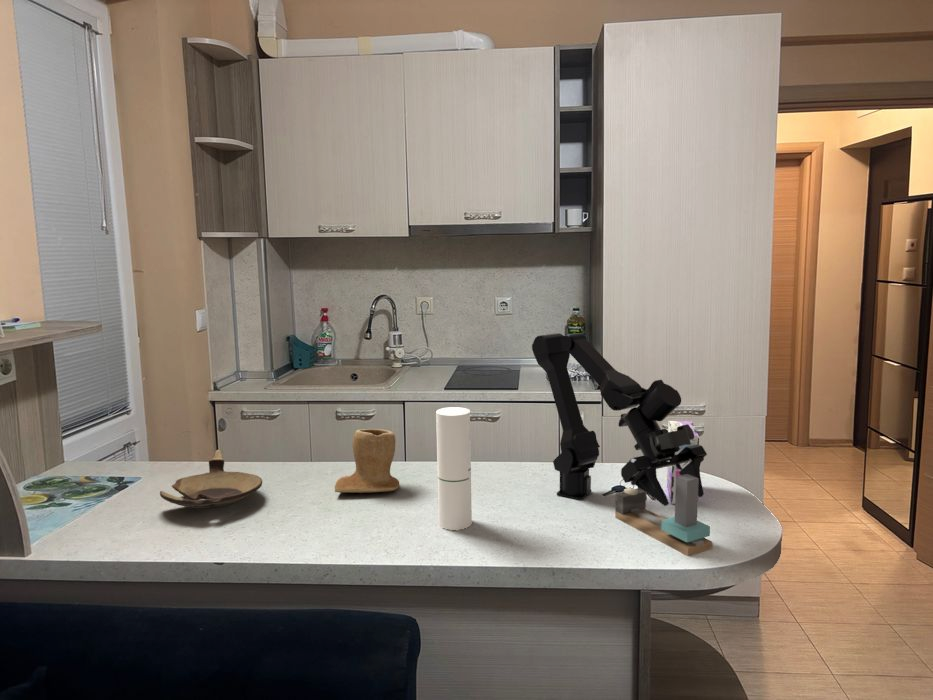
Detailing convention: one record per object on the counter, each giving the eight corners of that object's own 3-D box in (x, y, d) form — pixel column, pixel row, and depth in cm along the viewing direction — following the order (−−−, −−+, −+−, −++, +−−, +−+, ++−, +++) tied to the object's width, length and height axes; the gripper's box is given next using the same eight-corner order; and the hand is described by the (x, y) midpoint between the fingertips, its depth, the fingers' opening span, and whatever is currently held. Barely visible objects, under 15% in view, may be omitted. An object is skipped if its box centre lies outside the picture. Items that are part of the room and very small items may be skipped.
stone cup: (400, 479, 182) (399, 422, 179) (398, 497, 170) (396, 436, 167) (341, 481, 181) (338, 424, 179) (334, 498, 169) (331, 438, 167)
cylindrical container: (476, 519, 156) (474, 408, 152) (465, 532, 149) (463, 416, 145) (445, 515, 158) (443, 406, 154) (433, 528, 152) (430, 414, 148)
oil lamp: (140, 523, 157) (137, 490, 156) (204, 476, 187) (202, 448, 185) (237, 526, 155) (235, 492, 153) (286, 478, 184) (285, 450, 183)
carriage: (661, 529, 143) (663, 474, 141) (683, 523, 146) (685, 469, 144) (687, 542, 137) (689, 485, 135) (709, 536, 140) (712, 480, 138)
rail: (614, 516, 156) (614, 491, 155) (637, 511, 159) (637, 486, 158) (687, 556, 137) (688, 527, 136) (711, 548, 140) (713, 520, 139)
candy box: (697, 506, 161) (699, 436, 158) (670, 505, 162) (672, 435, 160) (690, 485, 175) (693, 420, 172) (665, 483, 176) (667, 419, 173)
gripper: (631, 418, 139) (670, 490, 131) (701, 406, 147) (742, 473, 139) (605, 447, 147) (640, 516, 139) (673, 434, 155) (710, 498, 147)
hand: (684, 500), depth 141 cm, fingers open, 9 cm apart
